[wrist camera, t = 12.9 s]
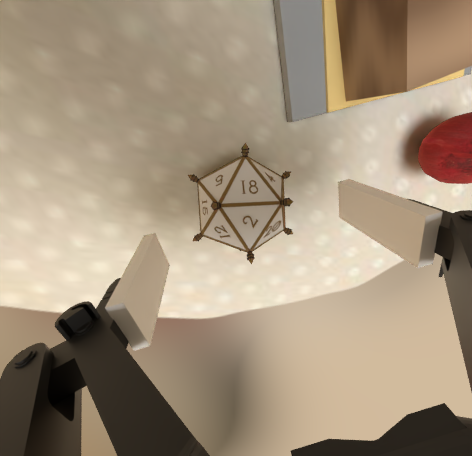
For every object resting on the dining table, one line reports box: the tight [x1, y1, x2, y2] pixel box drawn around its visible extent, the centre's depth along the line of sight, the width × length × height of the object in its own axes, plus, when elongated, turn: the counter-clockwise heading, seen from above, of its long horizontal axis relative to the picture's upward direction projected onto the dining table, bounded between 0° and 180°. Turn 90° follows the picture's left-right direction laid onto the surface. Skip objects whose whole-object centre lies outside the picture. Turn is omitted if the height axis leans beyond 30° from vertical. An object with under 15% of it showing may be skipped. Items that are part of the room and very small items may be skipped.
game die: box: [188, 143, 293, 264], centre depth 18 cm, size 9×8×10 cm
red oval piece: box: [418, 112, 472, 184], centre depth 19 cm, size 6×6×8 cm
